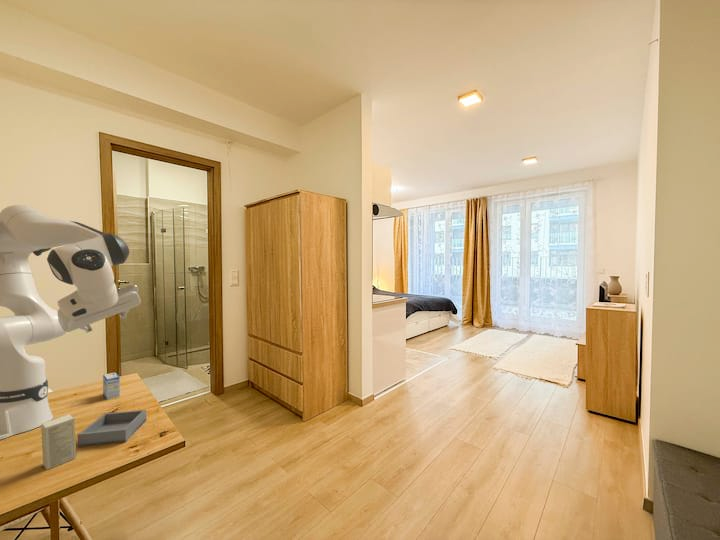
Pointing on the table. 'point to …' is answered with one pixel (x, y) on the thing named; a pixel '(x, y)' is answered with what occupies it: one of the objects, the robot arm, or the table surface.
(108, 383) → the medicine box
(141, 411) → the tray
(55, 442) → the skincare box
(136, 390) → the table surface
